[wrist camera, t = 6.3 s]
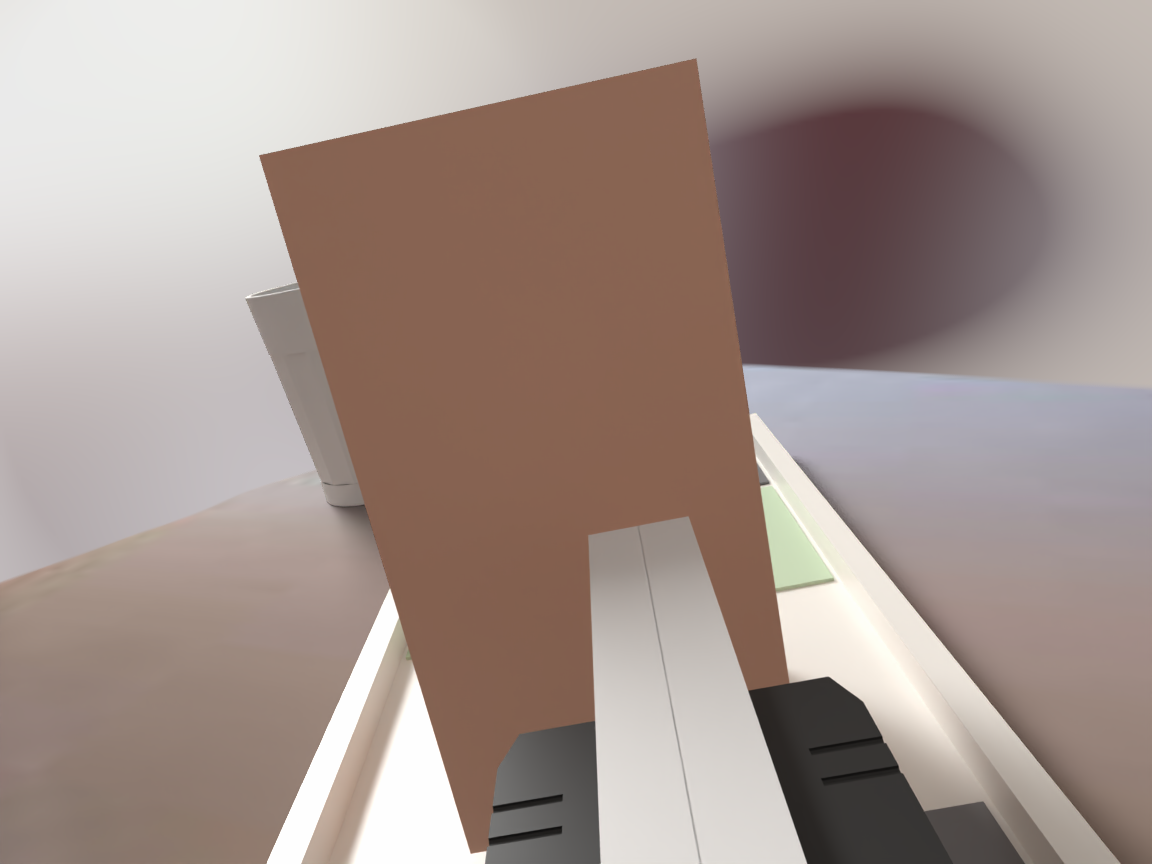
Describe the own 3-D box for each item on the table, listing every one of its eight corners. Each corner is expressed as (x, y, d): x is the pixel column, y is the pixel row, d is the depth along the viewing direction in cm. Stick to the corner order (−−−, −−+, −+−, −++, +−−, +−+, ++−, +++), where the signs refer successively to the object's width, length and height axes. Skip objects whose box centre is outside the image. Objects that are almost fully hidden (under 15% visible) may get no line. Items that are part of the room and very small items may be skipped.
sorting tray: (77, 1528, 10) (12, 1432, 9) (450, 512, 40) (440, 475, 40) (1406, 1355, 9) (1424, 1239, 8) (761, 451, 40) (755, 413, 39)
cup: (292, 497, 48) (226, 299, 45) (409, 451, 53) (358, 267, 49) (344, 523, 42) (273, 295, 39) (473, 468, 47) (419, 259, 43)
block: (470, 853, 17) (259, 155, 13) (496, 683, 23) (355, 164, 19) (806, 796, 16) (696, 58, 12) (745, 638, 22) (656, 98, 18)
